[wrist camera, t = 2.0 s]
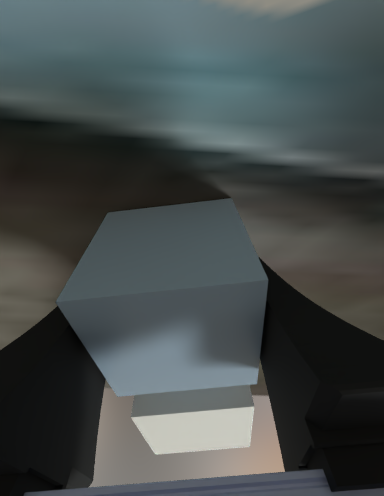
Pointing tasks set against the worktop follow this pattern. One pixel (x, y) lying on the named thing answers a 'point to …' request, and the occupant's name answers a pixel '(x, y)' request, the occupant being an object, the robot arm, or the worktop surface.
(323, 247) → the worktop surface
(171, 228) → the cover
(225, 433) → the cover
